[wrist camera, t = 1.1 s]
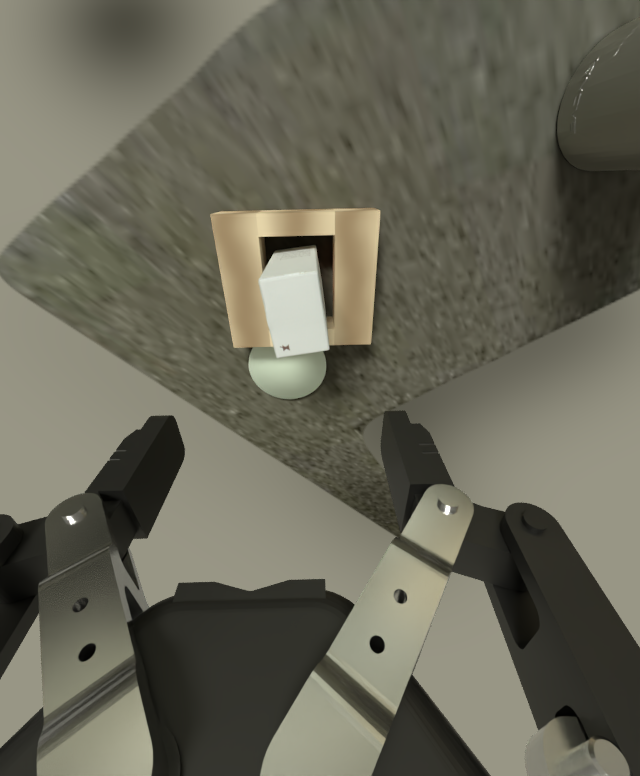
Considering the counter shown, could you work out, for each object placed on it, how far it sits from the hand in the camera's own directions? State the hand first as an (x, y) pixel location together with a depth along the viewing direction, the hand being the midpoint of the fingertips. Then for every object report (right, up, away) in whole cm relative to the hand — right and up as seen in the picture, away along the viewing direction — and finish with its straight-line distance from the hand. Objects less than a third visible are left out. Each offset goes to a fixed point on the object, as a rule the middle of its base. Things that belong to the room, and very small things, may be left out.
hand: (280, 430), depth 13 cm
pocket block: (0, +13, +20) cm, 24 cm away
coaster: (-2, +4, +26) cm, 26 cm away
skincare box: (0, +13, +20) cm, 24 cm away
